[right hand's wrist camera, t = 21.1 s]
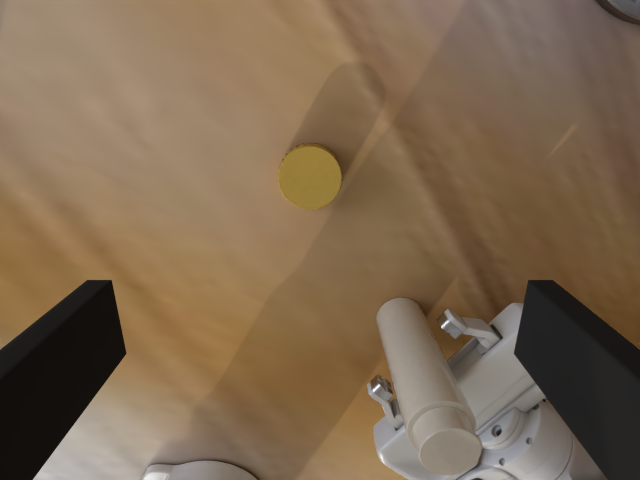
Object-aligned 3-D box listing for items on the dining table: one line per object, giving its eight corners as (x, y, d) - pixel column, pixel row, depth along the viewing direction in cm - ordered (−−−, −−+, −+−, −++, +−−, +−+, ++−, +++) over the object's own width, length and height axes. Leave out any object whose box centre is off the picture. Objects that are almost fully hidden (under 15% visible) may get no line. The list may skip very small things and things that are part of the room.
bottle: (387, 344, 43) (429, 489, 27) (368, 309, 42) (401, 440, 26) (429, 326, 42) (498, 464, 27) (412, 289, 41) (473, 412, 25)
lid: (351, 157, 36) (353, 161, 34) (325, 212, 38) (326, 219, 36) (293, 132, 35) (292, 134, 33) (270, 189, 37) (267, 195, 35)
